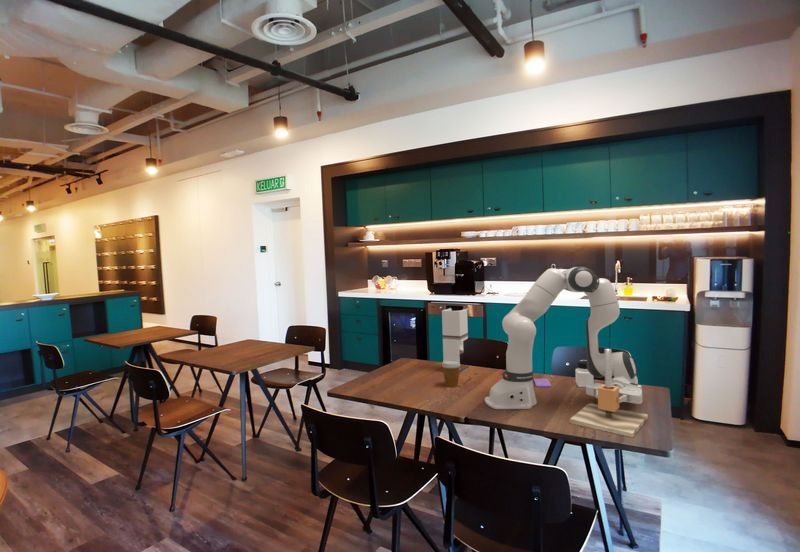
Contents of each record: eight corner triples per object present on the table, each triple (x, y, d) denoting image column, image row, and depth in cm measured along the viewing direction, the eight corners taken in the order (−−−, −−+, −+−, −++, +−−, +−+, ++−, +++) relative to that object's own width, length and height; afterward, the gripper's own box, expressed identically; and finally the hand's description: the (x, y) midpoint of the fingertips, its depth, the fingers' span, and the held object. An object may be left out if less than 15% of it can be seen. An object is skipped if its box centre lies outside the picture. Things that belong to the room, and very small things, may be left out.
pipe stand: (589, 406, 181) (589, 403, 181) (647, 418, 167) (647, 414, 167) (569, 422, 165) (569, 419, 165) (632, 437, 150) (632, 433, 150)
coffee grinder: (461, 374, 237) (459, 311, 236) (443, 372, 243) (441, 310, 241) (468, 369, 247) (467, 308, 246) (451, 367, 253) (450, 308, 251)
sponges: (536, 389, 209) (536, 385, 209) (533, 381, 221) (533, 378, 221) (551, 389, 207) (551, 385, 207) (547, 381, 220) (547, 378, 220)
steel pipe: (606, 414, 168) (605, 348, 167) (614, 416, 166) (613, 348, 165) (603, 417, 166) (602, 349, 164) (611, 418, 164) (610, 350, 162)
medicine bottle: (594, 387, 206) (593, 362, 206) (578, 387, 208) (578, 362, 207) (590, 383, 213) (590, 359, 213) (575, 382, 215) (575, 359, 214)
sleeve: (603, 404, 170) (602, 384, 169) (619, 407, 166) (619, 387, 165) (598, 408, 165) (597, 388, 165) (614, 411, 161) (614, 391, 161)
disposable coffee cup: (462, 387, 213) (461, 364, 212) (443, 388, 213) (442, 364, 213) (459, 382, 222) (459, 359, 222) (441, 382, 223) (440, 360, 222)
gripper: (591, 377, 182) (580, 385, 172) (646, 386, 168) (636, 395, 158) (591, 392, 182) (580, 401, 172) (646, 401, 168) (637, 412, 158)
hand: (607, 398), depth 165 cm, fingers closed on sleeve, 6 cm apart
